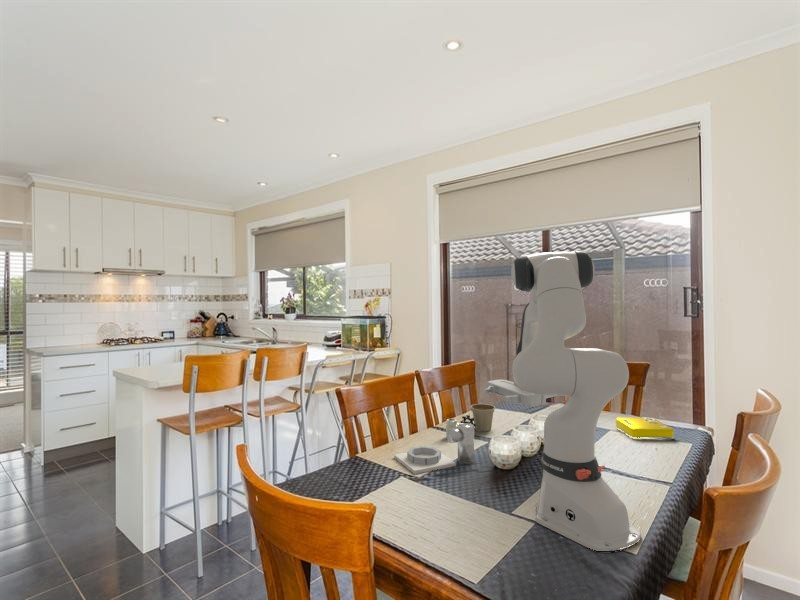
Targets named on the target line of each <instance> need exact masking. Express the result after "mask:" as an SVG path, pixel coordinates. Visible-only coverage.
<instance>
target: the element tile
mask: <svg viewBox="0 0 800 600" xmlns="http://www.w3.org/2000/svg"><path fill="white" fill-rule="evenodd" d="M616 427H617V428H619V429H621V430H622V431H624V432H625V433H627V434H628V435H630V436H632V437H637V438H638V437H639V438H640V437H673V438H674V428H673V427H671V426H669V425H667V424H666V423H663V422H661V421H660V420H657V419H656V418H653V417H616V418H615V428H616Z"/></svg>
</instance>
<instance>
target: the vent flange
mask: <svg viewBox="0 0 800 600" xmlns="http://www.w3.org/2000/svg"><path fill="white" fill-rule="evenodd" d="M393 458H394V459H395V460H396V459H397V460H396V461H398V463H400V464H401V463H402V464H401V465H403V466H404V467H405V468H406V469H407V470H409V471H410V472H411V473H413V474H414V475H416V474H421V473H427V472H432V470H433V471H437V469H438V470H442V469H447V468H451V467H457V462H456V461H454V460H453V459H451V458H449V457H448V456H446V455H444V454H443V453H442V451H441V450H439V449H437V448H436V447H434V446H433V447H432V446H426V445H423V446H422V445H421V446H415V447H411V448H409V449H408V450H407V452H401V453H395V454H394V455H393Z"/></svg>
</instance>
